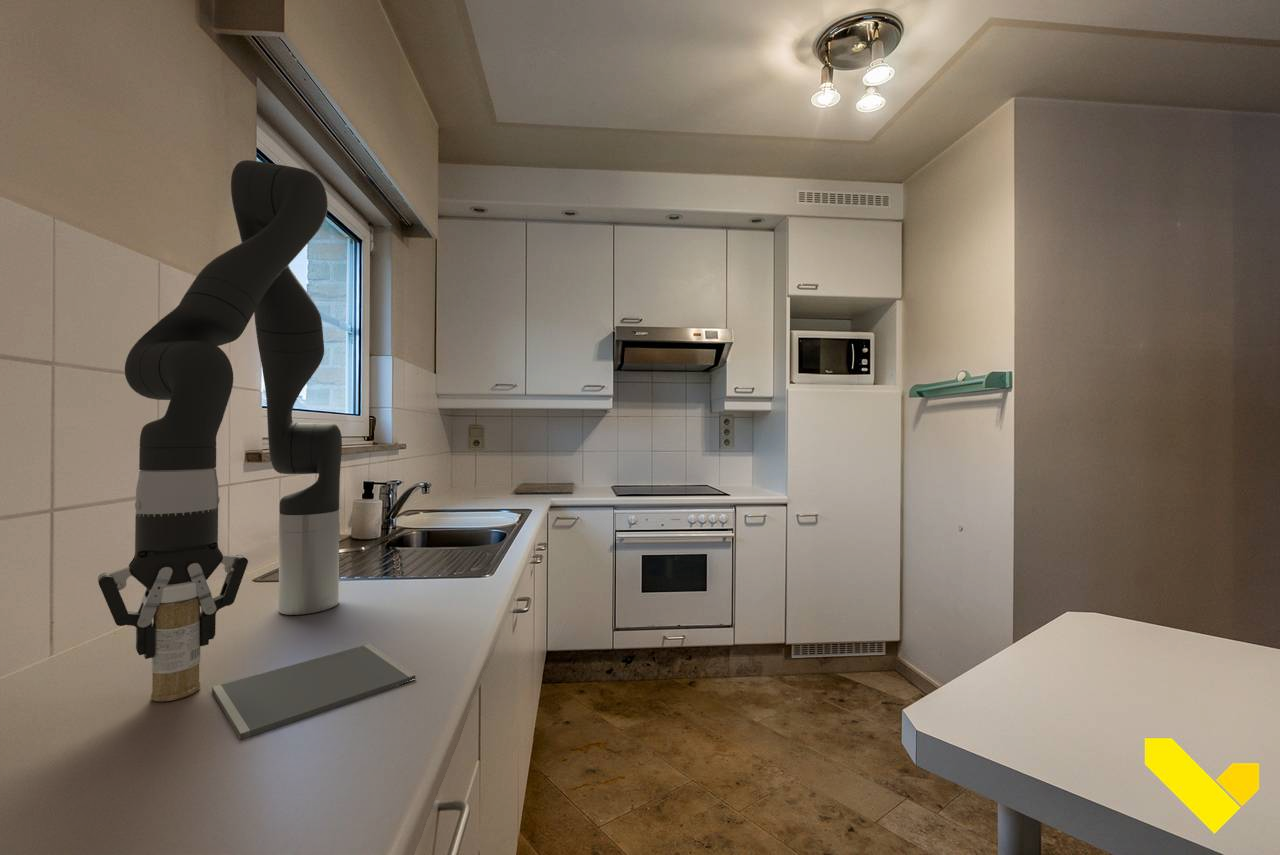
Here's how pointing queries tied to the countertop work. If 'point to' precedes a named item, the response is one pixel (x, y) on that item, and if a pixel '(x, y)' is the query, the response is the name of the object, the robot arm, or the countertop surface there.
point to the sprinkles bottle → (176, 643)
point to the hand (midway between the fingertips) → (176, 649)
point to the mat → (307, 689)
